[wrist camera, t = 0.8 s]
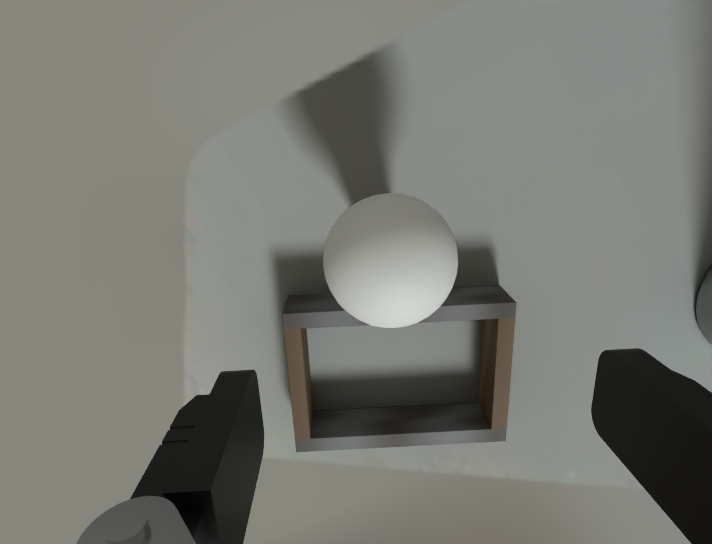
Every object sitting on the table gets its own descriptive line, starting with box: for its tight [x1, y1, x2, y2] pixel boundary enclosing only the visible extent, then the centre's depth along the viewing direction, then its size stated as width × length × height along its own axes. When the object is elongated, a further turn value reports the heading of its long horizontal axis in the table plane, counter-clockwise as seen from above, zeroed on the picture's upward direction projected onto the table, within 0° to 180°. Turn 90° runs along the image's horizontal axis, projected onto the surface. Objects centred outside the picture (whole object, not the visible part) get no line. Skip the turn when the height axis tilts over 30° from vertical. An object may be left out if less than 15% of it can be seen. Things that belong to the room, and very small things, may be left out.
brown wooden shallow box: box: [282, 285, 516, 452], centre depth 29 cm, size 14×10×3 cm
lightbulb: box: [323, 193, 458, 328], centre depth 23 cm, size 6×6×11 cm
